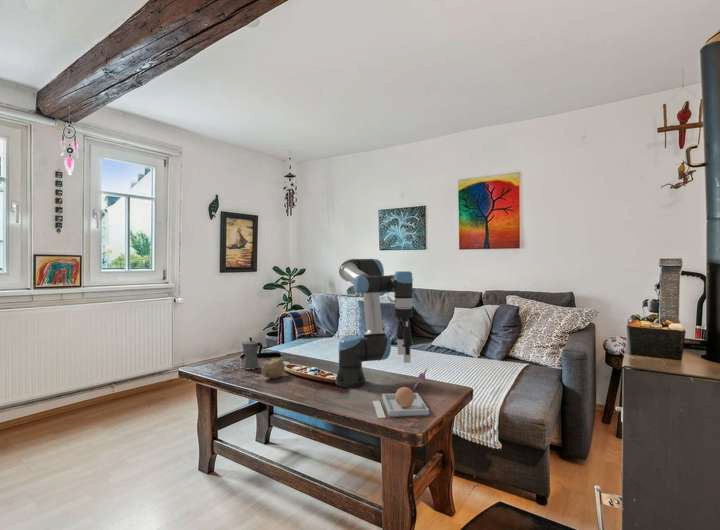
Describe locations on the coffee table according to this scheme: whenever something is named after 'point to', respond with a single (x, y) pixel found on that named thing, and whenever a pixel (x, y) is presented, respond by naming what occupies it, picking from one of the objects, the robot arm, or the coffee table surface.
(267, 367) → the low-poly potato
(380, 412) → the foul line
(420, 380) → the lily
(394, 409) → the tray
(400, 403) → the ball
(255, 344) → the coffeepot
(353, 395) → the coffee table surface
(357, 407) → the coffee table surface
